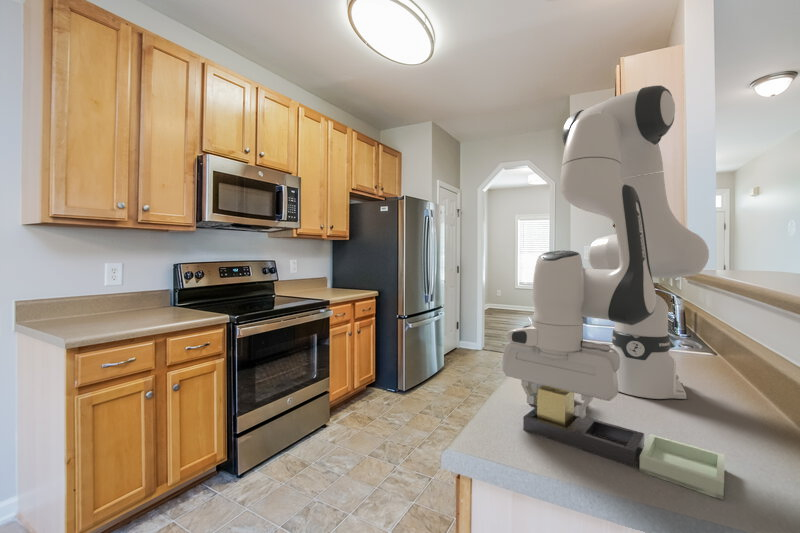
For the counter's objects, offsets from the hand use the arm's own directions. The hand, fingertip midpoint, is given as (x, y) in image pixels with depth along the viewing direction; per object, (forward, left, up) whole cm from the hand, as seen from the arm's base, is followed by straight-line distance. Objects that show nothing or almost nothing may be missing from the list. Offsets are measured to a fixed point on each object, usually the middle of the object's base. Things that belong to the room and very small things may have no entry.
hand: (554, 409), depth 68 cm
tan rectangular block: (0, 0, -4) cm, 4 cm away
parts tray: (0, +19, -4) cm, 19 cm away
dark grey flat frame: (0, +5, -4) cm, 6 cm away
